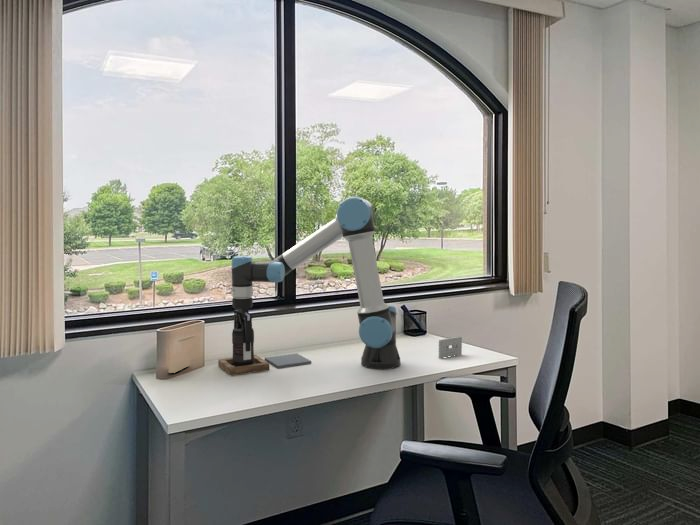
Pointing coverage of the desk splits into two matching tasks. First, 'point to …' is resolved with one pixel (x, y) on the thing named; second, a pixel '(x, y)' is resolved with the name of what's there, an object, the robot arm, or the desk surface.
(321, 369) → the desk surface
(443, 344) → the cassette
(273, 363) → the mat
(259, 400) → the desk surface
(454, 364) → the desk surface
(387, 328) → the robot arm
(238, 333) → the camera lens
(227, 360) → the brown flat square frame
